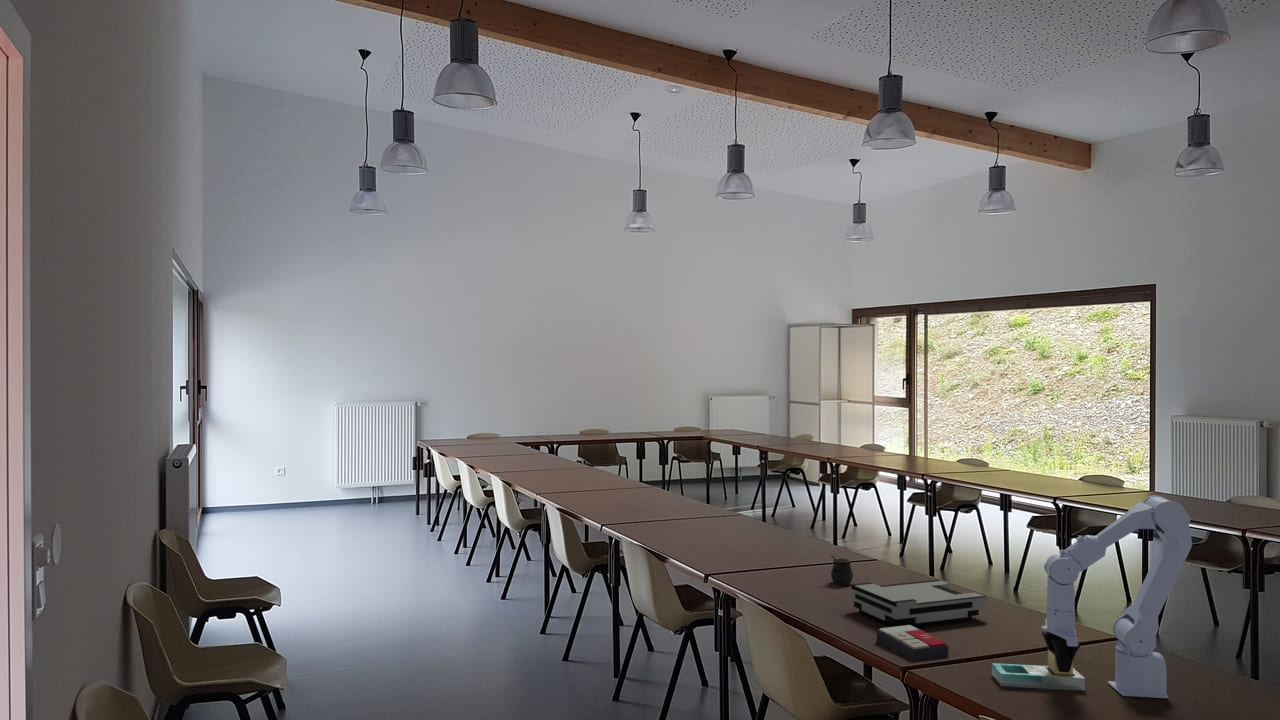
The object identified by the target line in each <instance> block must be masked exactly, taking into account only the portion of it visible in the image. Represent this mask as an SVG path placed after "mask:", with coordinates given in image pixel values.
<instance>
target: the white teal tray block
mask: <svg viewBox="0 0 1280 720" xmlns="http://www.w3.org/2000/svg"><path fill="white" fill-rule="evenodd" d="M991 676H992V677H993V678H994V679H995V680H996V682H997V683H998V684H999V685H1000V687H1008V688H1009V687H1011V688H1026V689H1027V688H1028V689H1031V688H1032V689H1046V690H1047V689H1048V690H1065V691H1081V692H1082V691H1083V692H1084V691H1086V678H1085V677H1084V676H1083V675H1082V674H1081V673H1080V672H1078V671H1077V670H1076V669H1075V667H1073V676H1062V675H1052V674H1051V673H1050V672H1049V671H1048V665H1036V664H1035V665H1034V664H1033V665H1032V664H1013V663H997V662H996V663H991Z"/></svg>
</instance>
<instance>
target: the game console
mask: <svg viewBox="0 0 1280 720" xmlns="http://www.w3.org/2000/svg"><path fill="white" fill-rule="evenodd" d="M850 584H851V585H850V600H851V601H853V607H854V608H855V609H859V610H858V612H860V613H863V614H865V615H867V616H869V617H872V618H873V617H876V618H878V619H880V620H882V621H885V622H887V625H890V627H897V626H905V625H912V626H913V627H915V628H917V629H919V628H921V629H922V628H927V627H928V628H929V627H937V626H944V625H945V626H946V625H953V624H960V623H968V622H972V621H973V617H976V616H980V615H979V614H980V613H979V610H987V609H988V607H989V605H988V602H989V601H988V599H989V598H988V596H986V595H983V594H980V593H978V592H968V593H965V592H964V593H962V592H960V591H956V590H954V589H951V588H950V583H948V582H946V581H941V580H939V579H932V580H924V581H912V582H904V583H902V582H901V583H894V584H884V585H882V584H880V585H877V584H875V583H873V582H862V583H861V582H860V583H853V584H852V583H850Z"/></svg>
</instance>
